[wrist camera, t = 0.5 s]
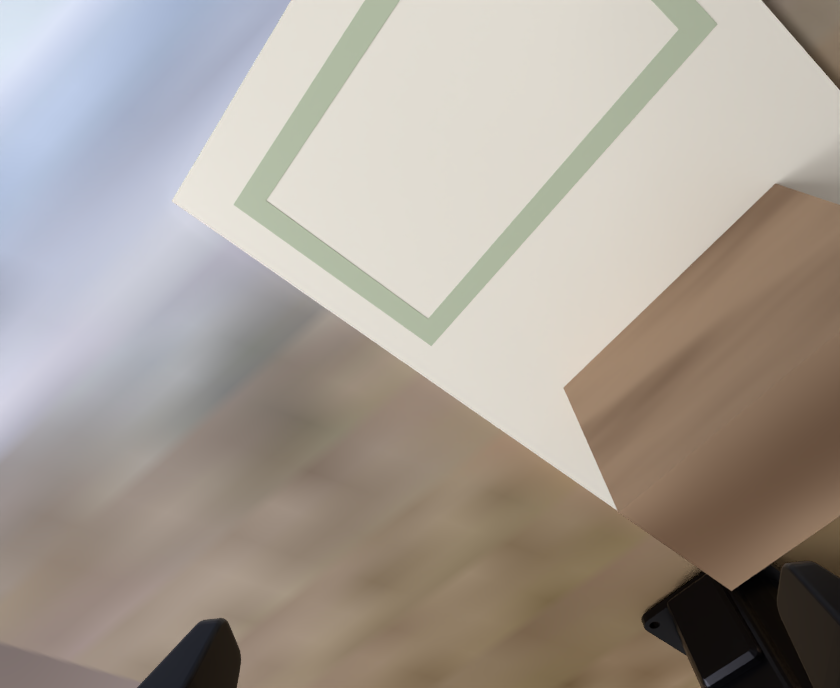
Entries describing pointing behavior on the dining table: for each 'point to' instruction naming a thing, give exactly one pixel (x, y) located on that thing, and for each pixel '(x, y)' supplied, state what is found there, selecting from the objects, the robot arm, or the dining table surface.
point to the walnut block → (729, 394)
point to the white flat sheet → (509, 176)
